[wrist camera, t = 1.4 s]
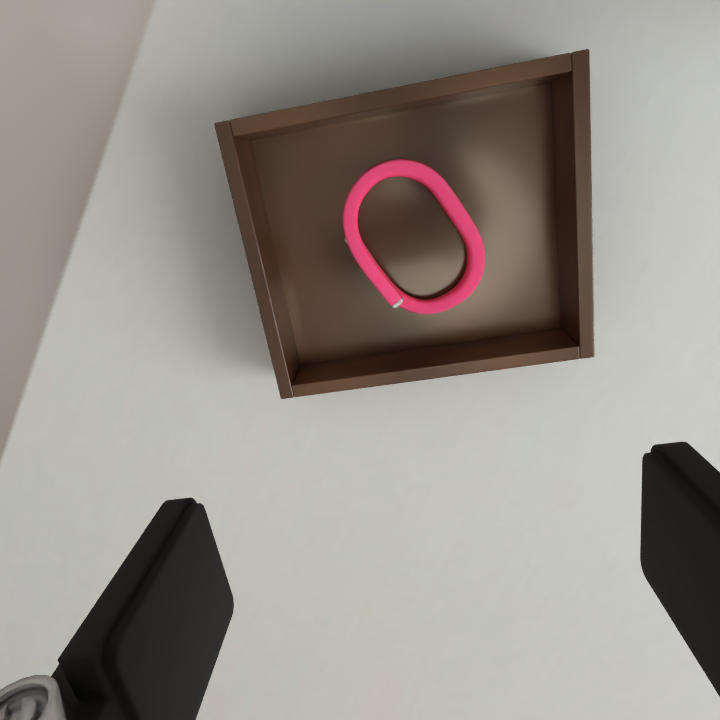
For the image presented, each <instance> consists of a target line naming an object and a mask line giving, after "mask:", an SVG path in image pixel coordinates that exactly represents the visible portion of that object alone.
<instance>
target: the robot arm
mask: <svg viewBox="0 0 720 720" xmlns="http://www.w3.org/2000/svg"><path fill="white" fill-rule="evenodd" d="M640 560H641V566H642V570H643V573H644V575H645V577H646V579H647V581H648V582H649V584H650V586H651V587H652V589H653V590H654V592H655V594H656V595H657V597H658V598H659V600H660V602H661V603H662V605H663V606H664V608H665V610H666V611H667V613H668V614H669V616H670V618H671V619H672V621H673V623H674V624H675V626H676V627H677V629H678V631H679V632H680V634H681V635H682V637H683V639H684V640H685V642H686V643H687V645H688V647H689V648H690V650H691V651H692V653H693V655H694V656H695V658H696V659H697V661H698V663H699V664H700V666H701V667H702V669H703V671H704V672H705V674H706V675H707V677H708V679H709V680H710V682H711V683H712V685H713V687H714V688H715V690H716V691H717V693H718V695H719V696H720V472H719V471H718V470H716V469H715V468H714V467H713V466H712V465H711V464H710V463H709V462H708V461H707V460H706V459H705V458H703V457H702V456H701V455H700V454H699V453H698V452H697V451H696V450H695V449H694V448H693V447H692V446H690V445H689V444H688V443H686V442H676V443H667V444H658V445H654V446H653V447H652V449H651V453H645V454H644V456H643V461H642V506H641V553H640ZM233 608H234V602H233V596H232V592H231V589H230V586H229V583H228V580H227V577H226V574H225V570H224V567H223V564H222V561H221V558H220V555H219V552H218V548H217V545H216V542H215V539H214V536H213V533H212V530H211V527H210V523H209V520H208V517H207V514H206V511H205V508H204V506H203V505H202V504H200V503H198V504H197V503H196V501H195V500H194V499H193V498H183V499H175V500H167V501H165V502H164V503H163V504H162V506H161V507H160V509H159V510H158V512H157V513H156V515H155V516H154V518H153V519H152V521H151V522H150V523H149V525H148V526H147V528H146V529H145V531H144V532H143V534H142V535H141V537H140V538H139V540H138V541H137V543H136V544H135V546H134V547H133V549H132V550H131V552H130V553H129V555H128V556H127V558H126V559H125V561H124V562H123V564H122V565H121V567H120V568H119V569H118V571H117V572H116V574H115V575H114V577H113V578H112V580H111V581H110V583H109V584H108V586H107V587H106V589H105V590H104V592H103V593H102V595H101V596H100V598H99V599H98V601H97V602H96V604H95V605H94V607H93V608H92V610H91V611H90V613H89V614H88V615H87V617H86V618H85V620H84V621H83V623H82V624H81V626H80V627H79V629H78V630H77V632H76V633H75V635H74V636H73V638H72V639H71V641H70V642H69V644H68V645H67V647H66V648H65V650H64V651H63V653H62V654H61V656H60V657H59V659H58V662H59V665H58V667H57V668H56V670H55V671H54V673H53V674H52V676H51V677H49V676H47V675H34V676H30V677H26V678H23V679H20V680H18V681H16V682H14V683H12V684H10V685H7V686H6V687H4V688H3V689H1V690H0V720H196V717H197V714H198V711H199V708H200V706H201V703H202V700H203V697H204V694H205V691H206V688H207V686H208V683H209V680H210V677H211V674H212V671H213V668H214V666H215V663H216V660H217V657H218V654H219V651H220V649H221V646H222V643H223V640H224V637H225V634H226V631H227V629H228V626H229V623H230V620H231V617H232V614H233Z"/></svg>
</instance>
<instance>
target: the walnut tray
mask: <svg viewBox="0 0 720 720" xmlns="http://www.w3.org/2000/svg"><path fill="white" fill-rule="evenodd" d="M215 129H216V133H217V137H218V141H219V145H220V149H221V154H222V158H223V162H224V166H225V170H226V174H227V178H228V182H229V186H230V191H231V195H232V199H233V203H234V207H235V211H236V215H237V219H238V223H239V228H240V232H241V236H242V240H243V244H244V248H245V252H246V256H247V261H248V265H249V269H250V273H251V277H252V281H253V285H254V289H255V293H256V298H257V302H258V306H259V310H260V314H261V318H262V322H263V326H264V330H265V335H266V339H267V343H268V347H269V351H270V355H271V359H272V363H273V367H274V372H275V376H276V380H277V384H278V388H279V392H280V396H281V399H285V398H293V397H300V396H307V395H314V394H322V393H329V392H337V391H344V390H352V389H359V388H366V387H374V386H381V385H389V384H396V383H403V382H411V381H418V380H426V379H433V378H441V377H448V376H455V375H463V374H470V373H478V372H485V371H492V370H500V369H507V368H515V367H522V366H530V365H537V364H544V363H552V362H559V361H567V360H574V359H579V358H580V359H582V358H590V357H594V302H593V243H592V183H591V124H590V65H589V49H586V50H581V51H576V52H572V53H566V54H561V55H556V56H551V57H546V58H541V59H536V60H531V61H526V62H520V63H515V64H510V65H505V66H500V67H495V68H490V69H485V70H480V71H475V72H470V73H465V74H460V75H455V76H450V77H445V78H440V79H435V80H430V81H424V82H419V83H414V84H409V85H404V86H399V87H394V88H389V89H384V90H379V91H374V92H369V93H364V94H359V95H354V96H349V97H344V98H339V99H334V100H329V101H323V102H318V103H313V104H308V105H303V106H298V107H293V108H288V109H283V110H278V111H273V112H268V113H263V114H258V115H253V116H248V117H243V118H238V119H233V120H230V121H228V120H227V121H222V122H217V123H215ZM392 159H410V160H414V161H418V162H420V163H423V164H425V165H427V166H429V167H430V168H432V169H433V170H434V171H436V172H437V173H438V174H439V175H440V176H442V177H443V179H444V180H445V181H446V182H447V183H448V185H449V186H450V188H451V189H452V190H453V192H454V193H455V195H456V196H457V197H458V199H459V200H460V202H461V203H462V205H463V206H464V208H465V209H466V211H467V213H468V214H469V216H470V217H471V219H472V221H473V222H474V224H475V225H476V227H477V229H478V231H479V233H480V235H481V238H482V240H483V244H484V249H485V267H484V272H483V275H482V278H481V280H480V282H479V284H478V286H477V287H476V289H475V290H474V291H473V292H472V294H471V295H470V296H469V297H467V298H466V299H465V300H464V301H463V302H461V303H460V304H458V305H456V306H455V307H453V308H450V309H448V310H446V311H443V312H439V313H435V314H418V313H414V312H410V311H407V310H405V309H403V308H401V307H399V306H398V307H397V308H393V307H391V306H390V304H389V303H388V302H387V301H386V300H385V298H384V297H383V296H382V295H381V293H380V292H379V291H378V290H377V288H376V287H375V286H374V285H373V283H372V282H371V281H370V280H369V278H368V277H367V276H366V275H365V273H364V272H363V270H362V269H361V268H360V266H359V265H358V263H357V262H356V260H355V258H354V257H353V255H352V253H351V251H350V249H349V246H348V244H347V243H346V241H345V233H344V228H343V210H344V205H345V201H346V198H347V196H348V194H349V191H350V190H351V188H352V186H353V185H354V183H355V182H356V181H357V180H358V178H359V177H360V176H361V175H362V174H363V173H364V172H366V171H367V170H368V169H370V168H371V167H373V166H375V165H377V164H379V163H381V162H384V161H388V160H392ZM358 228H359V233H360V236H361V239H362V241H363V243H364V244H365V246H366V247H367V249H368V250H369V252H370V253H371V255H372V256H373V258H374V259H375V261H376V262H377V264H378V265H379V266H380V268H381V269H382V270H383V272H384V273H385V274H386V275H387V277H388V278H389V279H390V280H391V281H392V282H393V284H394V285H395V286H396V287H398V288H399V289H400V290H401V291H402V292H404V293H406V294H407V295H409V296H411V297H414V298H417V299H423V300H428V299H434V298H437V297H440V296H442V295H444V294H446V293H447V292H449V291H450V290H452V289H453V288H454V287H455V286H456V285H457V284H458V283H459V282H460V280H461V279H462V277H463V275H464V273H465V270H466V266H467V249H466V245H465V242H464V240H463V238H462V236H461V234H460V233H459V231H458V230H457V228H456V227H455V225H454V224H453V222H452V221H451V219H450V218H449V216H448V215H447V213H446V212H445V210H444V209H443V207H442V206H441V204H440V203H439V202H438V200H437V199H436V197H435V196H434V195H433V193H432V192H431V191H430V190H429V189H428V188H427V187H426V186H425V185H423V184H422V183H420V182H418V181H416V180H413V179H410V178H406V177H390V178H386V179H384V180H381V181H380V182H378V183H377V184H375V185H374V186H373V187H372V188H371V189H370V190H369V191H368V192H367V194H366V195H365V197H364V198H363V200H362V202H361V205H360V207H359V211H358Z"/></svg>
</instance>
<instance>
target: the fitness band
mask: <svg viewBox="0 0 720 720" xmlns="http://www.w3.org/2000/svg"><path fill="white" fill-rule="evenodd" d="M390 177H406V178H410V179H413V180H416V181H418V182H420V183H422V184H423V185H425V186H426V187H427V188H428V189H429V190H430V191H431V192H432V193H433V195H434V196H435V197H436V199H437V200H438V202H439V203H440V204H441V206H442V207H443V209H444V210H445V212H446V213H447V215H448V216H449V218H450V219H451V221H452V222H453V224H454V225H455V227H456V228H457V230H458V231H459V233H460V234H461V236H462V238H463V240H464V242H465V245H466V249H467V266H466V270H465V273H464V275H463V277H462V279H461V280H460V282H459V283H458V284H457V285H456V286H455V287H454V288H453V289H452V290H450V291H449V292H447V293H446V294H444V295H442V296H440V297H437V298H434V299H428V300H423V299H417V298H414V297H411V296H409V295H407V294H406V293H404V292H402V291H401V290H400V289H399V288H398V287H396V286H395V285H394V284H393V282H392V281H391V280H390V279H389V278H388V277H387V275H386V274H385V273H384V272H383V270H382V269H381V268H380V266H379V265H378V264H377V262H376V261H375V259H374V258H373V256H372V255H371V253H370V252H369V250H368V249H367V247H366V246H365V244H364V243H363V241H362V239H361V236H360V233H359V228H358V211H359V207H360V205H361V202H362V200H363V198H364V197H365V195H366V194H367V192H368V191H369V190H370V189H371V188H372V187H373V186H374V185H375V184H377V183H378V182H380V181H381V180H384V179H386V178H390ZM343 228H344V233H345V241H346V243H347V244H348V246H349V249H350V251H351V253H352V255H353V257H354V258H355V260H356V262H357V263H358V265H359V266H360V268H361V269H362V270H363V272H364V273H365V275H366V276H367V277H368V278H369V280H370V281H371V282H372V283H373V285H374V286H375V287H376V288H377V290H378V291H379V292H380V293H381V295H382V296H383V297H384V298H385V300H386V301H387V302H388V303H389V304H390V306H391V307H393V308H397V307H398V306H399V307H401V308H403V309H405V310H407V311H410V312H414V313H418V314H435V313H439V312H443V311H446V310H448V309H450V308H453V307H455V306H456V305H458V304H460V303H461V302H463V301H464V300H465V299H466V298H467V297H469V296H470V295H471V294H472V292H473V291H474V290H475V289H476V287H477V286H478V284H479V282H480V280H481V278H482V275H483V272H484V267H485V249H484V244H483V240H482V238H481V235H480V233H479V231H478V229H477V227H476V225H475V224H474V222H473V221H472V219H471V217H470V216H469V214H468V213H467V211H466V209H465V208H464V206H463V205H462V203H461V202H460V200H459V199H458V197H457V196H456V195H455V193H454V192H453V190H452V189H451V188H450V186H449V185H448V183H447V182H446V181H445V180H444V179H443V177H442V176H440V175H439V174H438V173H437V172H436V171H434V170H433V169H432V168H430V167H429V166H427V165H425V164H423V163H420V162H418V161H414V160H410V159H392V160H388V161H384V162H381V163H379V164H377V165H375V166H373V167H371V168H370V169H368V170H367V171H366V172H364V173H363V174H362V175H361V176H360V177H359V178H358V180H357V181H356V182H355V183H354V185H353V186H352V188H351V190H350V191H349V194H348V196H347V198H346V201H345V205H344V210H343Z"/></svg>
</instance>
